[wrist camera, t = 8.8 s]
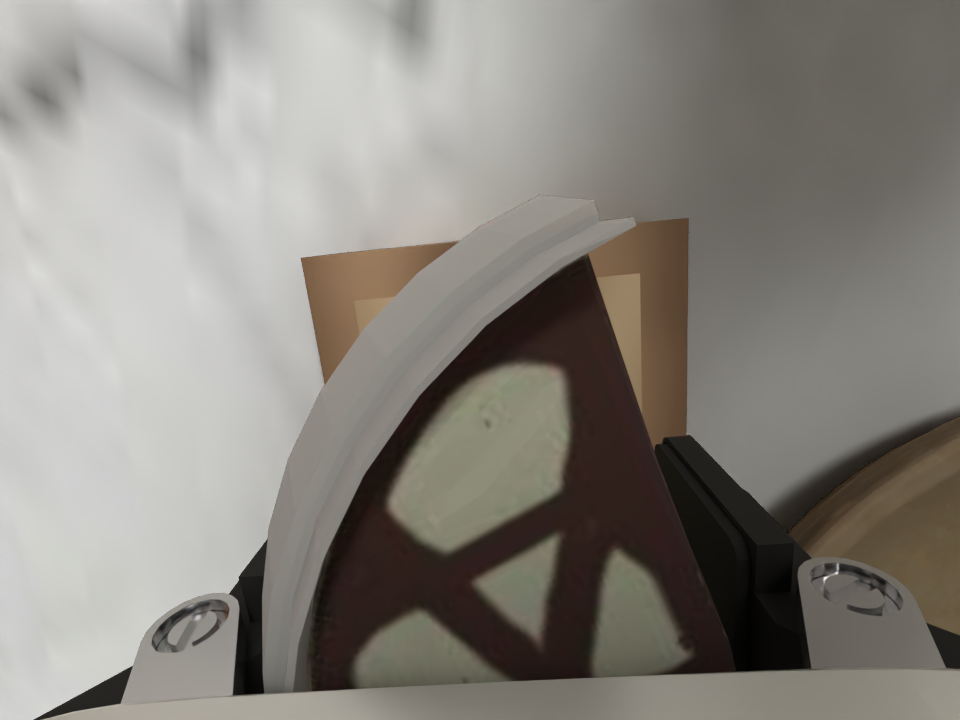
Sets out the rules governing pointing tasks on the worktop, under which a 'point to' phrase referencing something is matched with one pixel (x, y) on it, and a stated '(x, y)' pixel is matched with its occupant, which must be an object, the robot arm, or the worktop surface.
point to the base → (621, 278)
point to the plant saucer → (900, 521)
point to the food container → (484, 488)
